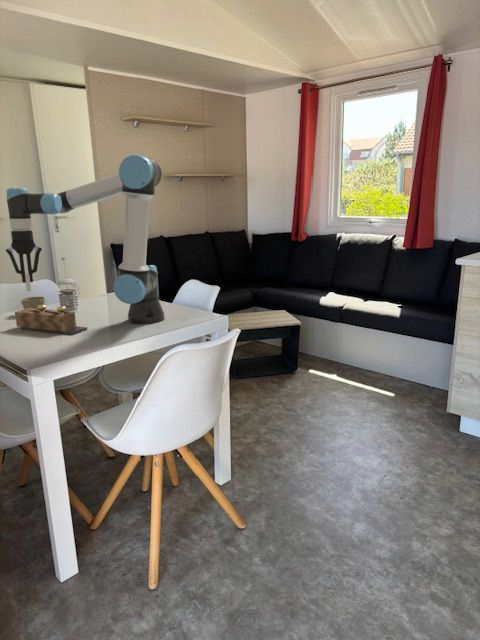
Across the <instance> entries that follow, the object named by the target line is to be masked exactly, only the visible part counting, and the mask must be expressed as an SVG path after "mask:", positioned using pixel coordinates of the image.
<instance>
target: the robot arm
mask: <svg viewBox="0 0 480 640" xmlns="http://www.w3.org/2000/svg"><path fill="white" fill-rule="evenodd" d="M162 177H163V173H162V168H161V166H160V164H159V163H158V161H156V160H155V159H153V158H151V157H149V156H148V157H147V156H145V155H143V154H130V155H128V156H126V157H125V158H124V159H122V161H121V162H120V164H119V167H118V173H116V174H114V175H109V176H107V177H103V178H101V179H97V180H95V181H92V182H88V183H85V184H83V185H80V186H77V187H74V188H71V189H67V190H65V191H62V192H58V193H53V192H51V193H50V192H49V193H48V192H46V193H31V192H30V193H29V191H28V188H26V187H25V188H24V187H23V188H22V187H20V188H19V187H13V188H12V187H11V188H10V187H9V188H7V189H6V193H5V194H6V202H7V209H8V216H9V217H8V218H9V226H10V227H9V228H10V230H11V231H10V233H11V234H10V236H11V245H10V246H9V247H8V248H6V249H5V252H6V253H7V254H8V256H9V259H10V260H11V263H12V265H13V268H14V270H15V271H14V272H15V273H16V274H19V275H21V281H22V283H25V290H26V292H31V291H32V287H31V283H33V282H34V278H33V274H34V273H37V272H38V266H39V259H40V254H41V252H42V250H43V249H42V247H40V246H37V245H36V242H35V241H34V233H33V230H32V229H33V224H32V216H31V215H57V214H58V215H59V214H67V213H70V212H71V211H72V210H76V209H78V208H81V207H84V206H87V205H88V206H89V205H91V204H94V203H97V202H100V201H103V200H106V199H110V198H113V197H116V196H119V195H121V194H123V196H125V209H124V210H125V212H124V230H123V231H124V235H123V251H122V263H120V264H119V265H118V267H117V268H118V270H117V278H116V279H115V281H114V282H113V292H114V293H113V294H115V297H116V298H117V299H118V300H120V302H121V303H124V304H127V305H129V309H128V313H127V314H128V315H127V320H128V322H129V323H131V324H138V325H139V324H140V325H141V324H142V325H143V324H154V323H159V322H161V321H163V320H165V312H164V309H163V307H162V305H161V302H160V293H159V279H158V276H159V275H158V274H159V272H158V270H157V269H158V268H157V266H156V265H155V264H150V265H149V264H148V265H147V253H148V252H147V251H148V250H147V249H148V237H149V235H148V233H149V219H150V201H151V199H152V198H154V197H155V190H156V187H157V186H158V185H159V184H160V182H161V181H162ZM33 250H34V252H35V254H34V260H33V266H32V261H31V260H32V259H31V253H32V252H33ZM14 251H15V252H16V253H17V254H18V258H19V266H20V269H19V267H18V263H17V262H16V259H15V256H14V254H13V253H14ZM24 255H25V257H26V265H27V273H26V272H25V271H26V269H25V261H24Z"/></svg>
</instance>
